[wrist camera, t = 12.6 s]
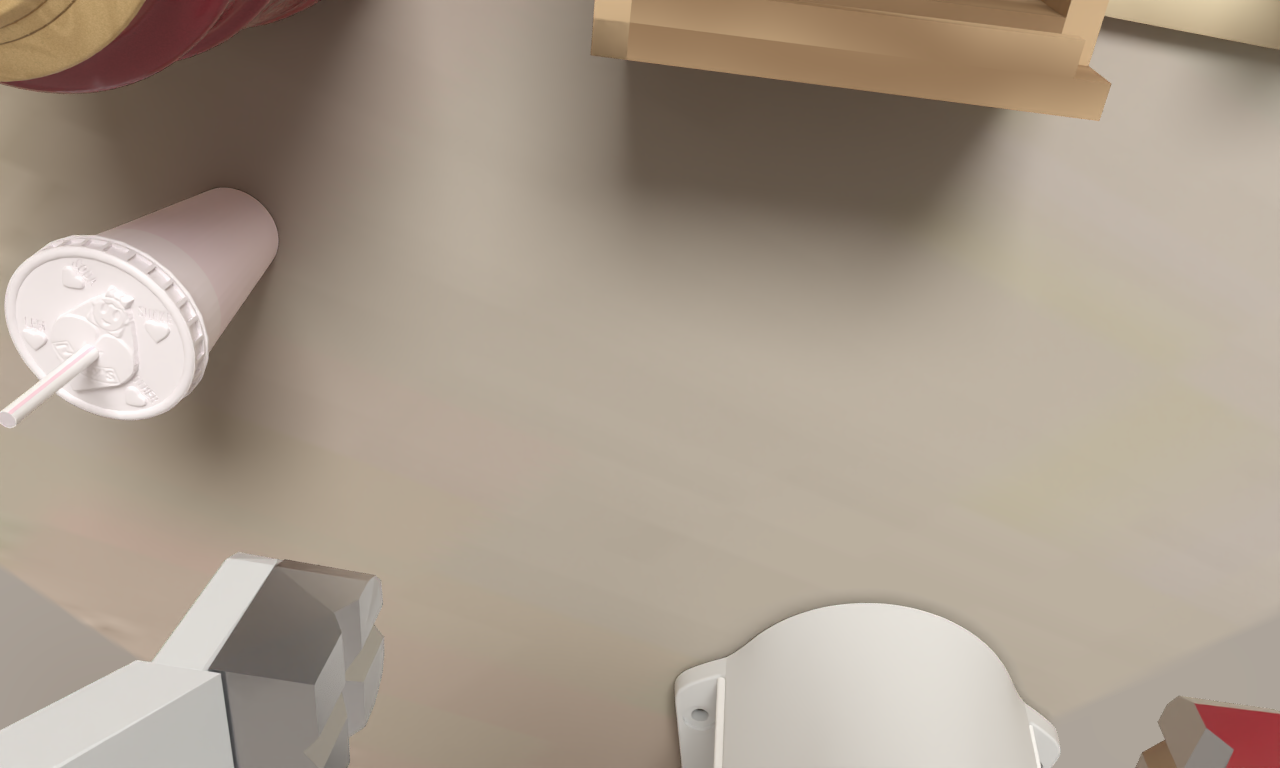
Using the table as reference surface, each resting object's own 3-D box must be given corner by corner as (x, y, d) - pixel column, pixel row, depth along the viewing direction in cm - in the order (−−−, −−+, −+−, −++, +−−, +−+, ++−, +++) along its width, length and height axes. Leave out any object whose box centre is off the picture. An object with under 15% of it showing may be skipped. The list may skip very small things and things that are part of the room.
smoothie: (134, 245, 42) (-123, 421, 30) (192, 120, 39) (-67, 259, 27) (272, 331, 43) (80, 533, 31) (338, 217, 40) (154, 390, 28)
